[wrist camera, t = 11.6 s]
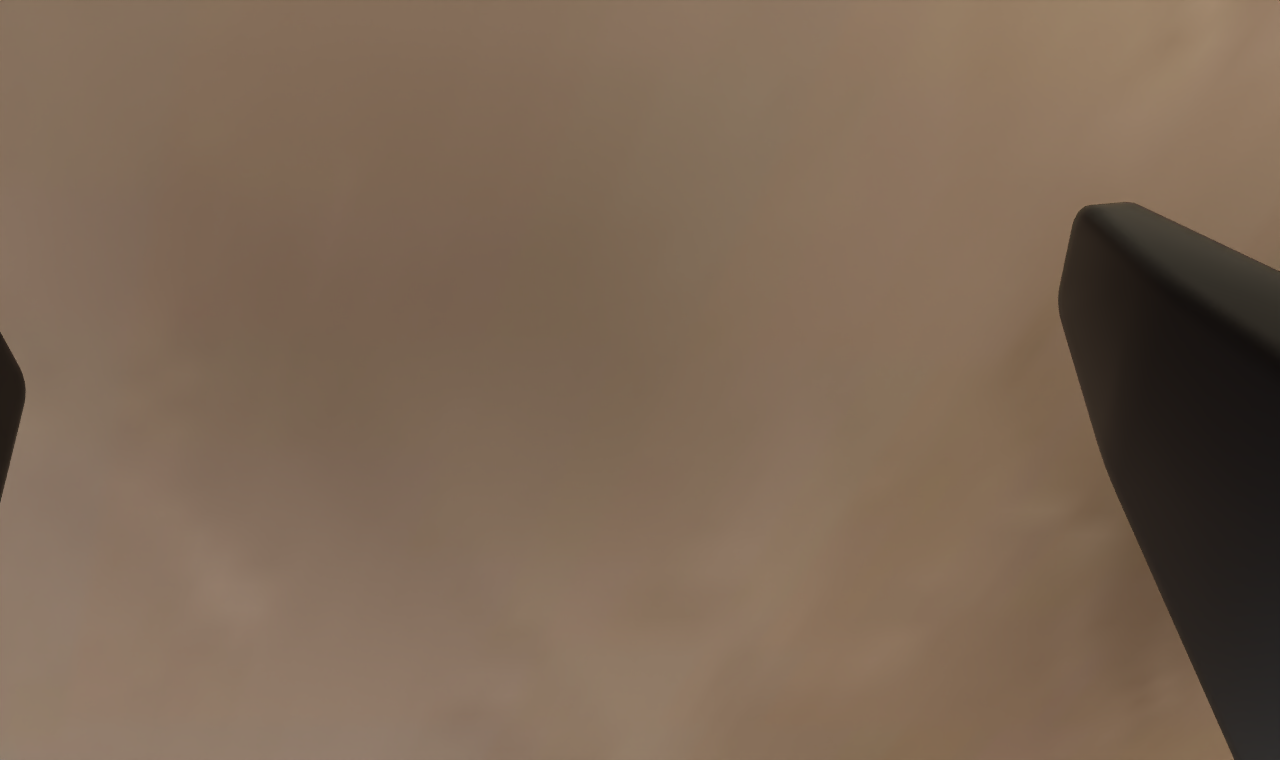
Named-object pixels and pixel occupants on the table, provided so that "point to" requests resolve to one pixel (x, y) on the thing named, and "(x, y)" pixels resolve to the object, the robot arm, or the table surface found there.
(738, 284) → the table surface
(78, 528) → the table surface
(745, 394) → the table surface
